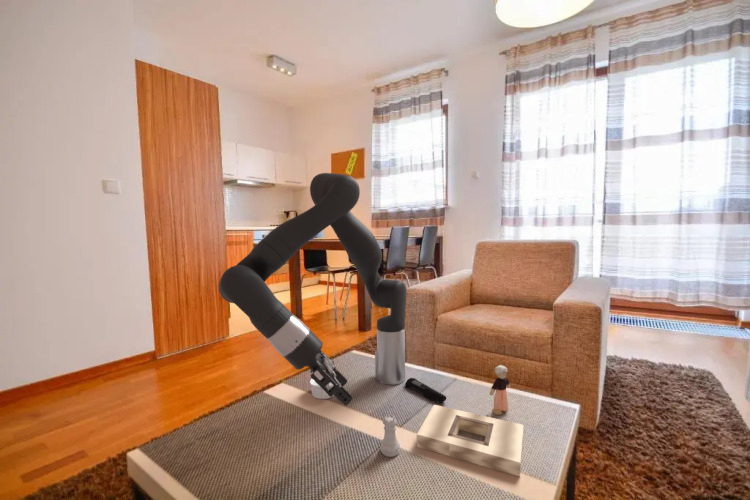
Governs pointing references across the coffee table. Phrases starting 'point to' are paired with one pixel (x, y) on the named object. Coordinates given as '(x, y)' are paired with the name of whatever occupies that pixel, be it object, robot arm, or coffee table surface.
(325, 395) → the ramekin
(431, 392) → the electric trimmer
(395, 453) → the rook chess piece
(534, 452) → the coffee table surface
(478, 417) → the socket board
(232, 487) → the coffee table surface
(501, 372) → the grandmother figurine
